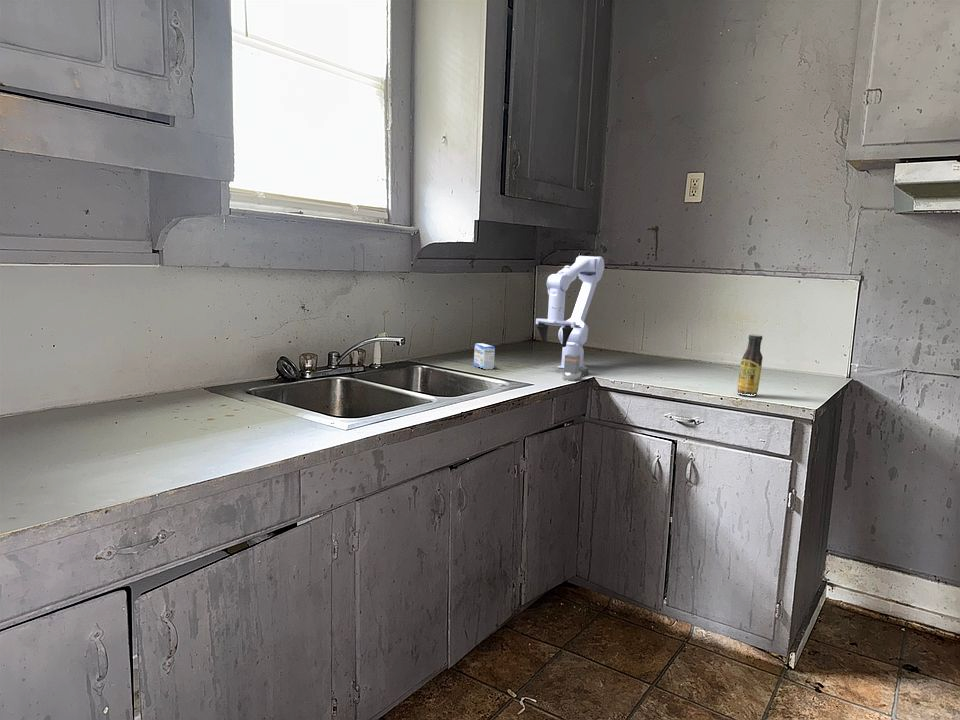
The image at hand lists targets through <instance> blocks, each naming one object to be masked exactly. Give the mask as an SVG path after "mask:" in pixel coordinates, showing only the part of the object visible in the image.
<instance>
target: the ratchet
mask: <svg viewBox="0 0 960 720" xmlns="http://www.w3.org/2000/svg"><path fill="white" fill-rule="evenodd" d="M589 370H590V367H587V366H585V367H579V372H578V373H576V374H571V373H564V370H563V371H562V380H563V379H564V380H563V381H566V380H568V381H567V382H578V381H577V380H579V381H580V380H581V379H580V378H581V377H580V376H583V375H585V374H587V373H588V374H589ZM588 374H587V375H588ZM585 376H586V375H585ZM583 377H584V376H583Z"/></svg>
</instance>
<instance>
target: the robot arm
mask: <svg viewBox="0 0 960 720" xmlns="http://www.w3.org/2000/svg"><path fill="white" fill-rule="evenodd" d="M604 271H605V260H604V258H603V256H592V255H589V256H587V255H578V256H577V257H576V258H575V262H574V263H572V265H564V267H563V268H562V269H561V270H558V271H557V273H552V274H550V275H548V277H547V279H546V288H547V294H548V307H547V308H548V309H547V310H548V311H547V318H536V319H535V325H537V327H536V328H537V330H538V333H539V335H540V338H541V345H543V346H545V345H547V343H548V342H547V341H548V340H547V337H548V336H547V335H548V328H549V326H555V327H557V326H558V327H560V328H559V330H558V334H557V335H558V340H559V342H560V344H561V346H562V351H561V363H560V364H561V365H558V366H557V368H559V369H564V362H565V355H567V354H574V355H580V362H579V367H586V365H584V357H585V356H584V354H585V353H584V352H585V351H584V347H583V346H584V344H585V343H587V341H588V337H589V336H588V335H589V327H588V325H587V324H586V322H585V320H586V317H587V314H588V312H589V308H590V304H591V302H592V299H593V296H594V293H595V290H596V287H597V284H598V282H599V281H601V279H602V277H603V274H604ZM577 276H578V279H579V280H580V281H581V282H582V284H581V287H580V291H579V293H578V296H577V298H576V302H575V306H574V308H573V311H572V314H571V317H570V318H569V319H567V320H565V305H566V292H567V291H568V289H569V287H570V285H571V283H572V282H574V281H575V280H576V279H577Z"/></svg>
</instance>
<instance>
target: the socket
mask: <svg viewBox="0 0 960 720" xmlns="http://www.w3.org/2000/svg"><path fill="white" fill-rule="evenodd" d="M579 362H580V355H574V354H567V355H565V362H564V368H563V371H564V373H571V374H576V373H578V372H579Z"/></svg>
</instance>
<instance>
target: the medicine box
mask: <svg viewBox="0 0 960 720" xmlns="http://www.w3.org/2000/svg"><path fill="white" fill-rule="evenodd" d="M495 349H496V347H495V345H494V346H493V345H490V344H486V343H483V342H482V343H475V344H474V351H473V352H474V353H473V355H474V356H473V367H474V366H477V367H480V368H483V369H493V368H494V367H495V355H496V354H495V353H496V352H495ZM477 367H476V368H477ZM480 368H479V369H480ZM483 369H482V370H483ZM493 370H494V369H493Z"/></svg>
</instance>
